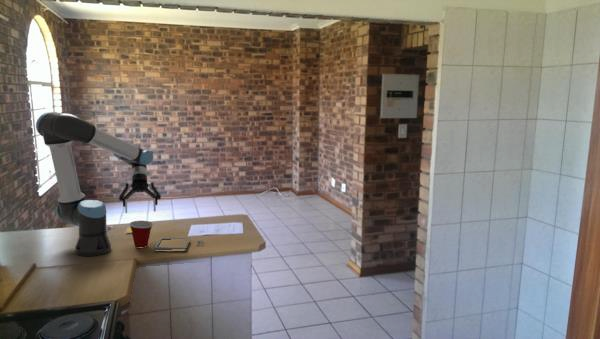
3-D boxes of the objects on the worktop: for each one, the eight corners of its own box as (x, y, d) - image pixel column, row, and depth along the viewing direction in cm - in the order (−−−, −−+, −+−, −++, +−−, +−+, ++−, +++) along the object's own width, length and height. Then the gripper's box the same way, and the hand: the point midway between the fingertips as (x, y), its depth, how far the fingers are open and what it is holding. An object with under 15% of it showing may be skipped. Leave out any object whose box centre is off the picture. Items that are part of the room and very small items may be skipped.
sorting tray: (154, 251, 201) (154, 247, 200) (160, 241, 215) (160, 237, 215) (185, 251, 202) (185, 247, 202) (189, 241, 217) (189, 238, 216)
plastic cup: (148, 251, 201) (148, 226, 199) (126, 249, 201) (125, 225, 200) (156, 243, 212) (156, 220, 210) (135, 242, 212) (134, 219, 210)
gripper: (163, 179, 233) (165, 213, 222) (114, 181, 223) (114, 216, 212) (164, 172, 227) (166, 205, 216) (113, 173, 218) (113, 208, 207)
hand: (140, 211), depth 214 cm, fingers open, 13 cm apart
